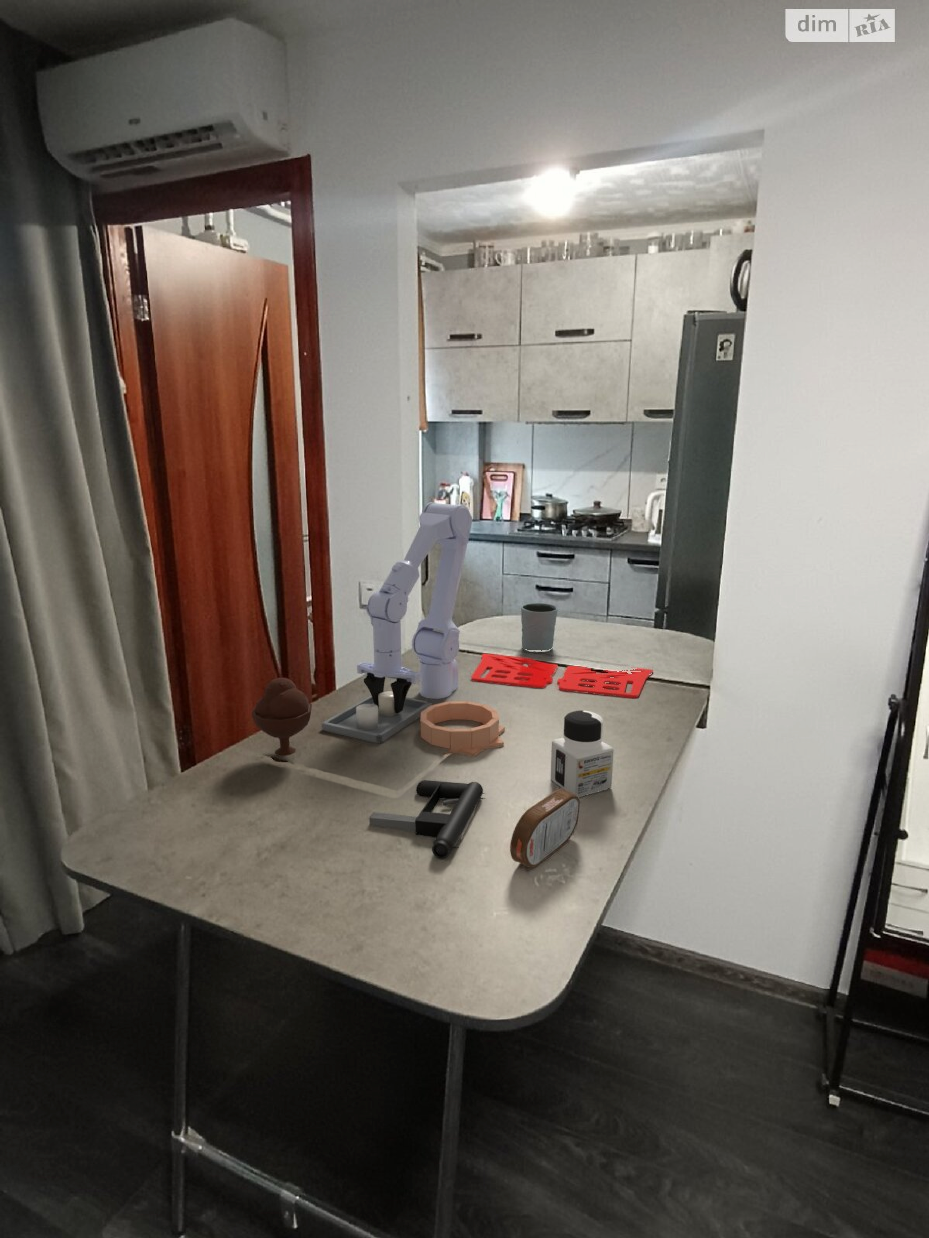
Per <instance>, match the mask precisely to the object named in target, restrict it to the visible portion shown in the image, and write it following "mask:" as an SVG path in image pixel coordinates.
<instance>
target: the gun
mask: <svg viewBox="0 0 929 1238" xmlns="http://www.w3.org/2000/svg"><path fill="white" fill-rule="evenodd" d="M415 791H416V794H417V796H419V797H422V798H423V797H424V798H429V799H428V801H427V802H426V804H424V806H423V808H422V809H421V811H420V812H419V814H418V815H417V816H413V815H404V814H403V815H402V814H395V813H394V814H393V813H385V812H384V813H382V812H376V811H375V812H372V813H371V815H370V816H369V817H368V821H369V826H374V827H380V828H387V829H393V830H398V831H405V832H415V835H416V836H423V837H426V838H427V837H428V838H435V839H434V841H433V844H432V848H431V851H432V854H433V855H434V856H435V857H436V858H437V859H446V858H447V857H448V856H450V854H452V853H453V851H454V849H459V848H460V847H458V846H456V845H457V843H458V841H461V840H462V839H463V836H464V834H465V832H466V831H467V829H468V827H469V824H470V823H471V821H472V819H473V817H474V815H475V813H476V807H477V806H478V803H479V801H480V800H485V799H486V800H487V798H485V797H482V796H483V795H484V794H487V793H485V792H484V789H483V786H482V785H481V783H479V782H478V781H471V782H469V783H465V782H464V783H463V782H451V781H441V780H439V781H438V780H428V779H427V780H426V779H425V780H421V781H419V782H418V784H417V785H416V787H415ZM440 799H446V800H442V805H443V806H447V805H450V804H455V805H454V807H453V808H452V810H451V812H450V813H443V812H442V813H440V812H433V811H434V809H435V808H436V806H437V804H438V803H439V801H440Z"/></svg>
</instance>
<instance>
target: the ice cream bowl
mask: <svg viewBox="0 0 929 1238" xmlns="http://www.w3.org/2000/svg"><path fill="white" fill-rule="evenodd" d="M312 707H313V704H312V703H310V702H309V698H308V697H307V695H306V694H305V693H304V692H303V691H302V690H300V689H298V688H297V685H296V684H295V683H294V682H293V681H292V680H291V679H289V678H287V677H277V678H275V679H272V680H270V681H269V683H267V684H266V687H265V689H264V692H263V696H261V697H260V699H258V701H257V702H256V704H255V706H254V707H253V710H252V713H251V716H252V719H253V720H252V721H253V722H254V725H256V727H257V729H259V730H261V731H262V732H263V733H265V734H266V735H268V736H270V737H272V738H274V739H275V738H276V739H277V738H278V739H279V748H277V749H275V750H274V754H275V755H276V756H281V757H285V756H291V755H293V754H295V753H296V752H297V748H295V747H293V746H290V738H291V737H294V736H296V735H297V734H298V733H300V732H302V731H303V730H304V729H305V728H306V727H307V726H308V724H309V722H310V720H311V714H312V709H313V708H312ZM271 758H272V759H273V760H275V761H276V762H275V761H274V762H275V763H289V762H288V761H289V760H285V759H282V758H277V757H273V756H271V757H270V759H271ZM272 759H271V760H272ZM273 760H272V761H273Z"/></svg>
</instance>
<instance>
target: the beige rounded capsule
mask: <svg viewBox="0 0 929 1238" xmlns="http://www.w3.org/2000/svg"><path fill="white" fill-rule="evenodd" d="M378 701H379V714H380V715H382V716H387V717H389V716H395V715H398V714H399V713H395V710H394V696H393V691H392V690H391V691H390V690H389V691H384V692H382V693H380V694H379V695H378Z"/></svg>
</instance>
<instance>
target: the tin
mask: <svg viewBox="0 0 929 1238" xmlns="http://www.w3.org/2000/svg"><path fill="white" fill-rule="evenodd" d="M580 806H581V800H580V797H579V798H578V797H577V796H576V795H574V794H572V793H570V792H568V791H566V790H565V789H563V788H557V789H556V790H555V791H552V793H550V794H549V795H547V796H546V797H545V798H542V799H541V800H540V801H538V802H536V803H535V804H534V805H532V806H530V807H529V808H528V809H526V810H525V812H524V813H523V814H522V815H521V817H520V818H519V820H518V821H517V823H516V825H515V828H513V829H514V830H513V833H512V835H511V839H510V844H509V846H510V847H509V854H510V857H511V858H512V860H513V862H515V863H519V864H521V865H523V866H525V867H527V868H535V867H538V866H539V865H540V864H542V863H543V862H544V861H545V860H546V859H548V858H549V857H550V856H551V855H553V854H554V853H556V852H557V851H558V850H560V848H562V847H563V846H565V845H566V844H567V842H568V841H569V840H570V839H571V837H572V836H573V834H574V832H575V830H576V829H577V826H578V822H579V814H580Z"/></svg>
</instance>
